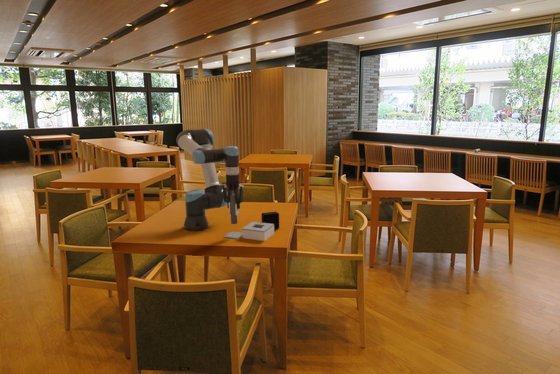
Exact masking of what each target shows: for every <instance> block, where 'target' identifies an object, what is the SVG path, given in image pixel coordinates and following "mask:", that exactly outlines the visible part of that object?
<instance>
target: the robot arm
mask: <svg viewBox="0 0 560 374" xmlns="http://www.w3.org/2000/svg"><path fill="white" fill-rule="evenodd" d="M176 144H177V146H178V147H179V148H180V149H181V150H185V151H186V152H188V153H189V155H191V157H192V161H193V164H195V165H200V167H201V170H202V171H201V172H202V176H203V179H204V180H203V181H204V184H205V188H204V189H202V188H196V189H192V190H189V191H187V192H186V193H185V194H184V195H185V196H184V203H185V219H184V223H183V229H184V230H186V231H190V232H196V231H198V232H199V231H203V230H206V229H208V228H209V227H210V226H209V224H210V222H209V221H208V218H207V216H206V210H207V211H208V210H212V209H214V210H215V209H220V208H224V207H226V206H227V209H228V215H231V207H230V194H235V198H236V204H235V212H236V215H237V216H238V215H239V214H240V208H241V204H242V203H243V202H244V188H245V185H243V184H241V183H240V165H239V163H240V162H239V161H240V160H239V154H240V153H239V147H238V146H235V145H234V146H233V145H228V146H225V147H220V148H216V149H215V148H213V146H215V138H214V134H213V132H212V131H211V130H210V129H208V128H201V129H199V128H198V129H185V130H182V131H181V132H179V133H178V135H177V137H176ZM223 162H224V163H225V165H224V166H225V181H226V182H225V183H224V184H221V183H220V181H219V176H218V172H217V168H216V165H215V163H223Z"/></svg>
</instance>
